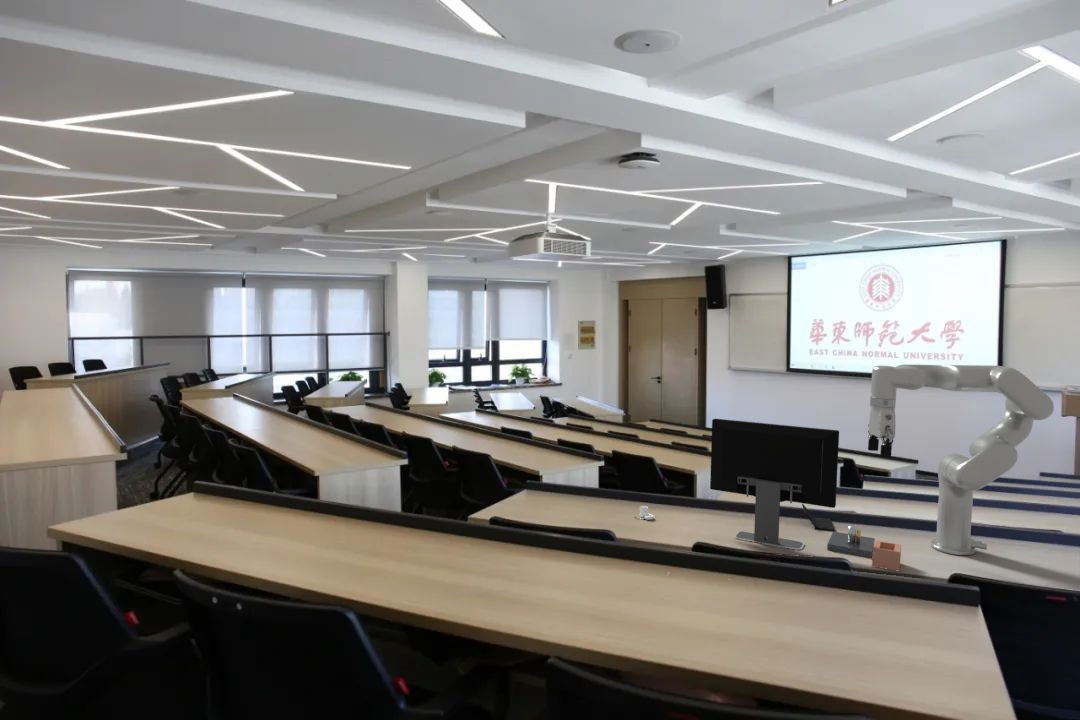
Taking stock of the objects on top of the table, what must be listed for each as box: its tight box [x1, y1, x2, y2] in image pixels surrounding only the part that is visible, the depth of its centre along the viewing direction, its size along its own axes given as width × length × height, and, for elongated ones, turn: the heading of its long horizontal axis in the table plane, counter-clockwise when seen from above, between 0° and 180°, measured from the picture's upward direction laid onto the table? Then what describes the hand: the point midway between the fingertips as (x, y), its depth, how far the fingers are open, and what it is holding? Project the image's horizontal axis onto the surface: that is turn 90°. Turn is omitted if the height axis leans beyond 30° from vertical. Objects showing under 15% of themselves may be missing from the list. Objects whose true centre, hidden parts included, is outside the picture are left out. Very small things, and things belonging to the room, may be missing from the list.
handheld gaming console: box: [801, 503, 836, 532], centre depth 243 cm, size 13×8×11 cm
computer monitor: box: [709, 418, 840, 551], centre depth 225 cm, size 41×8×40 cm, turn 59°
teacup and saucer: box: [639, 505, 655, 521], centre depth 251 cm, size 9×8×4 cm
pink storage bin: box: [871, 539, 902, 572], centre depth 206 cm, size 7×7×6 cm
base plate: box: [826, 524, 876, 558], centre depth 221 cm, size 13×14×7 cm
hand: (879, 453), depth 222 cm, fingers open, 9 cm apart
